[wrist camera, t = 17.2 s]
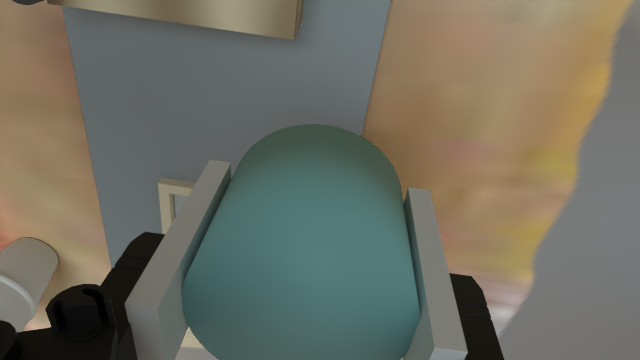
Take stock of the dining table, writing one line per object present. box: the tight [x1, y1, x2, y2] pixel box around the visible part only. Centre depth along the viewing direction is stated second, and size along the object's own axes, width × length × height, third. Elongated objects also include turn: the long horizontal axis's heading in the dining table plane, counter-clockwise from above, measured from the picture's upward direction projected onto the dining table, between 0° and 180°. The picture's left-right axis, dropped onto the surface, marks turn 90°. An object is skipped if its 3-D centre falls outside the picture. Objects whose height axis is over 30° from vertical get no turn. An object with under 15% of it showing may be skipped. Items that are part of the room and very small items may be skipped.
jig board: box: [62, 0, 391, 268], centre depth 33 cm, size 30×20×2 cm, turn 172°
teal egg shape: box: [182, 124, 420, 360], centre depth 14 cm, size 6×6×6 cm
